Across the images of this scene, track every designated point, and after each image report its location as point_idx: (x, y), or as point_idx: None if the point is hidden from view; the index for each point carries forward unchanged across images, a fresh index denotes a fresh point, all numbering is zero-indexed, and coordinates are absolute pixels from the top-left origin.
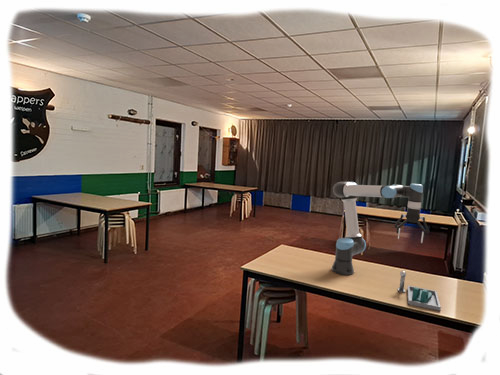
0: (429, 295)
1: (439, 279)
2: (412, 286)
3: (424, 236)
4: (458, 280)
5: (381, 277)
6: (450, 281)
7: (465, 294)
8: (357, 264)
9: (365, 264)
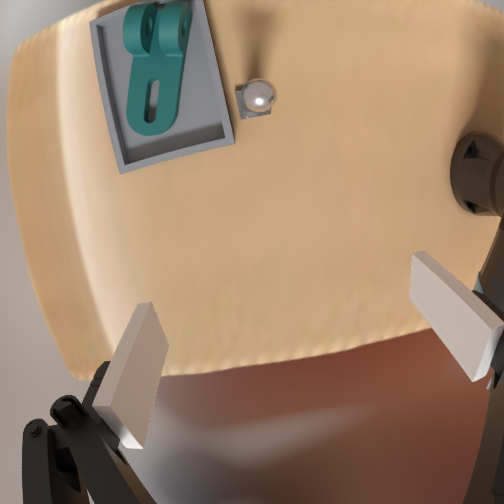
0: (132, 91)
1: None
2: (213, 146)
3: (103, 372)
4: None
5: (356, 208)
6: None
7: (60, 262)
8: None
9: None
